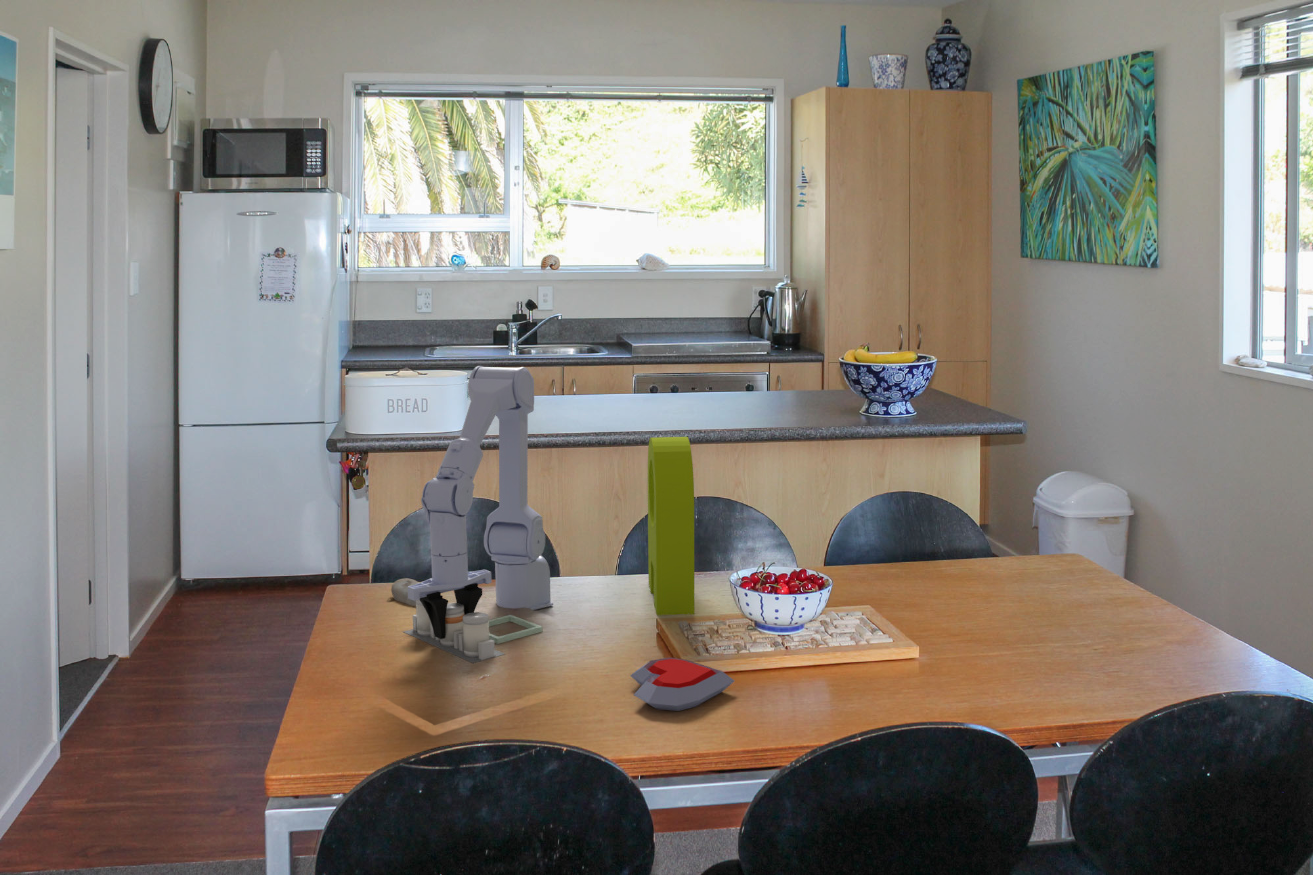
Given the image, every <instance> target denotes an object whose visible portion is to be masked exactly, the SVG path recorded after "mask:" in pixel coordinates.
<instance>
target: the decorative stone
mask: <svg viewBox="0 0 1313 875" xmlns="http://www.w3.org/2000/svg"><path fill="white" fill-rule="evenodd" d="M418 583H420V581H417V580H415V579H411V578H407V577H406V578H399V579H397V580H395V581H394V582H393V584H391V588H390V589H391V594H392V598H393V599H394V601H397V602H400V603H402V604H405V605H409V606H411V607H416V601H414V600H411V599H409V598H408V588H407V587H408V586H412V585H415V584H418Z"/></svg>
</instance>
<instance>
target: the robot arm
mask: <svg viewBox="0 0 1313 875" xmlns="http://www.w3.org/2000/svg"><path fill="white" fill-rule="evenodd" d="M467 387H468V388H467V389H468V396H469V400H470V402H469V407H468V410H467V413H466V415H465V419H464V423H463V426H462V429H461V432H460V436H459V437H458V438H456V439H454V440H451V441H450V442H449V445H448V447H447V448H446V449H447V450H446V452H445V453H444V456H443V459H442V461H441V463H440V465H439V467H438V471H437V473H436V476H435V477H433V478H432V479H430V480H429V481H428V480H427V482H426V483H425V484H424V486H423V490H422V495H421V496H422V497H421V498H420V500H421V501H420V502H421V506H422V509H423V510H424V514H425V522H426V523H427V525H429V530H430V531H429V535H430V536H429V537H430V556H431V560H430V561H431V577H430V578H429V579H426V580H424V581H421V582H419V583H418V584H415V585H412V586H408V587H407V588H408V598H409V599H411V600H414V601H416V600H420V602H421V603H422V605H423V606H424V608H425V610H426V612H427V614H428V616H429V618H430V621H431V624H432V627H433V631H434V635H435V637H437V638H440V639H444V638H445V635H446V626H445V617H446V609H447V604H448V603H449V600H448V599H446V598H443V596H444V595H441V594H444V593H447V592H453V593H454V598H455V601H456V602H455V603H460V604H463V605H464V615H465V614H468V613H475V610H476V608H477V605H478V604H479V601H480V599H481V597H482V596H483V588H481V587H479V585H482V584H485V585H488V584H492V582H493V581H492V571H489V570H487V569H480V570H474V571H469V567H468V566H469V564H468V562H469V561H468V538H467V536H468V535H467V532H468V531H467V514H468V512H469V511H470V510H471V507H472V504H473V500H474V489H475V484H474V479H475V477H476V474H477V472H478V469H479V466H480V465H481V461H482V459H483V457H484V454H483V453H484V452H483V449H481V445H482V442H483V440H484V438H485V436H486V435H487V433H488V431H489V429H490V427H491V426H492V423H493V420H494V419H495V417H496V418H497V419H498V438H499V439H498V479H499V480H498V505H499V506H498V507H497V508H495V510H493V511H492V512H491V513H489V514H488V516H487V517H486V526H485V531H484V535H483V546H484V549H485V551H486V553H487V555H488V556H490V559H491V561H493V562H494V564H495V565H494V566H495V567H494V571H495V572H494V574H495V598H496V599H495V601H496V602H495V603H496V604H495V605H497V606H498V607H500V608H505V609H522V608H523V609H524V608H527V609H530V610H532V611H536V610H540V609H544V608H548V607H552V606H554V602H553V601H551V598H552V597H551V572H550V571H551V570H550V566H549V563H548V562H547V560H546V559H545V557H544V556H543V553H544V551H545V547H546V533H545V530H544V524H543V522H544V521H543V516H542V515H541V514H539V512H537V511H536V510H534V508H533V507H531V506H530V505H529V504H528V498H529V497H528V496H529V495H528V493H529V492H528V491H529V490H528V487H529V486H528V482H529V481H528V480H529V479H528V469H529V468H528V466H529V464H528V463H529V462H528V461H529V460H528V458H529V457H528V456H529V454H528V452H529V450H528V445H529V443H528V442H529V441H528V440H529V439H528V433H529V432H528V431H529V430H528V428H529V425H528V424H529V423H528V420H529V418H528V415H529V414H531V413H534V410H535V408H534V407H535V379H534V377H533V375H532V374H531V372H530V371H529V369H528V368H527V367H526V366H525V367H524V366H521V367H504V366H503V367H500V366H499V367H498V366H496V367H495V366H494V367H493V366H483V365H477V366H475V367H474V368H473V370H472V372H470V375H469V379H468V384H467Z"/></svg>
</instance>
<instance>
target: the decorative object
mask: <svg viewBox="0 0 1313 875" xmlns="http://www.w3.org/2000/svg"><path fill="white" fill-rule="evenodd" d="M693 465H694V464H693V455H692V447H691V442H690V440H689V437H688V436H663V437H654V436H653V437H649V442H648V451H647V541H648V542H647V544H648V546H647V550H648V551H647V553H648V556H647V557H648V558H647V559H648V566H647V567H648V571H647V572H648V586H649V587H648V588H649V590H650V594H653V605H654V610H655V614H656V616H675V615H678V614H683V615H695V612H696V611H695V610H696V609H695V604H696V602H695V484H694V483H695V481H694V467H693ZM678 616H679V615H678Z"/></svg>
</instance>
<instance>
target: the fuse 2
mask: <svg viewBox="0 0 1313 875" xmlns="http://www.w3.org/2000/svg"><path fill="white" fill-rule="evenodd" d="M489 620H490V618H489V614H488V613H486V612H475V611H474V613H468V614H465V615H464V616H463V640H464V655H465V656H468V657H479V654H478V643H480V642H484V641H487V640H489V633H490V627H489Z"/></svg>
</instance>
